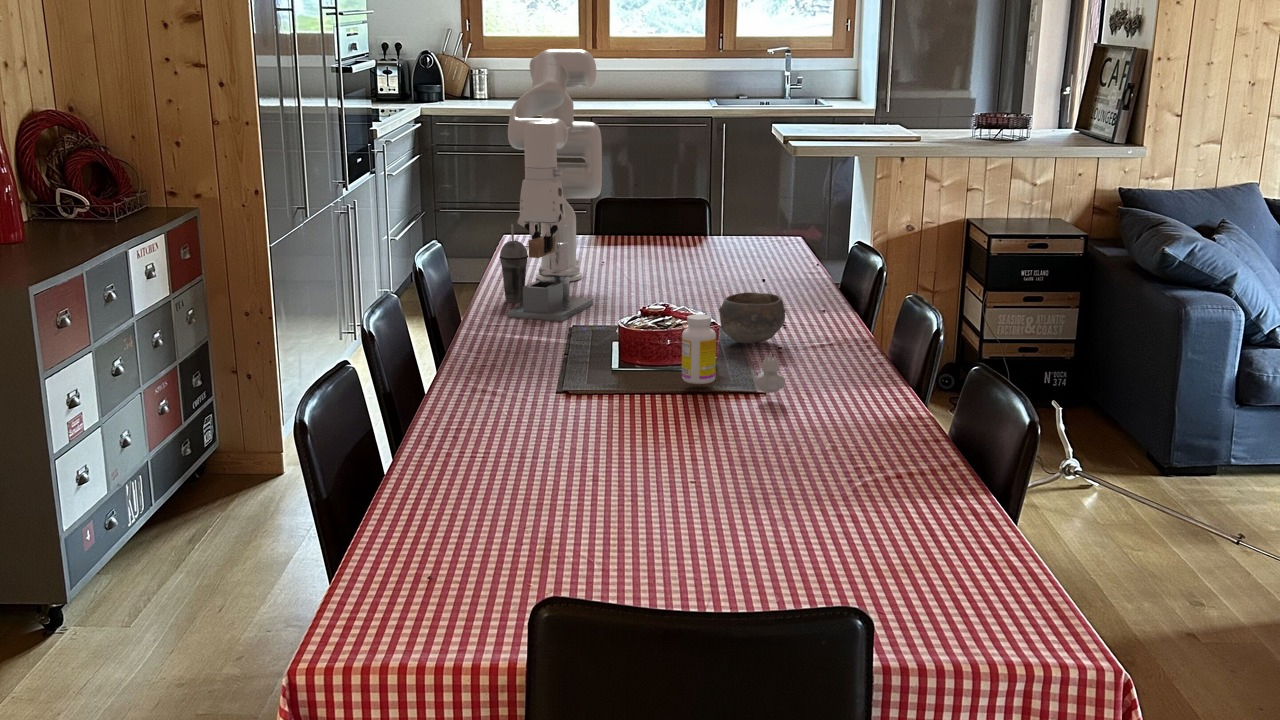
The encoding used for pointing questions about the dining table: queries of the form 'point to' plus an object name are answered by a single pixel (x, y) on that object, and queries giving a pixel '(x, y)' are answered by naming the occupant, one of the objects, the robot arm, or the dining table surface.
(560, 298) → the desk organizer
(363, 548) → the dining table surface
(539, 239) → the brown wooden block
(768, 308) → the bowl
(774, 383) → the gourd
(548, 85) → the robot arm
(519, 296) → the beverage cup
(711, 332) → the supplement bottle
